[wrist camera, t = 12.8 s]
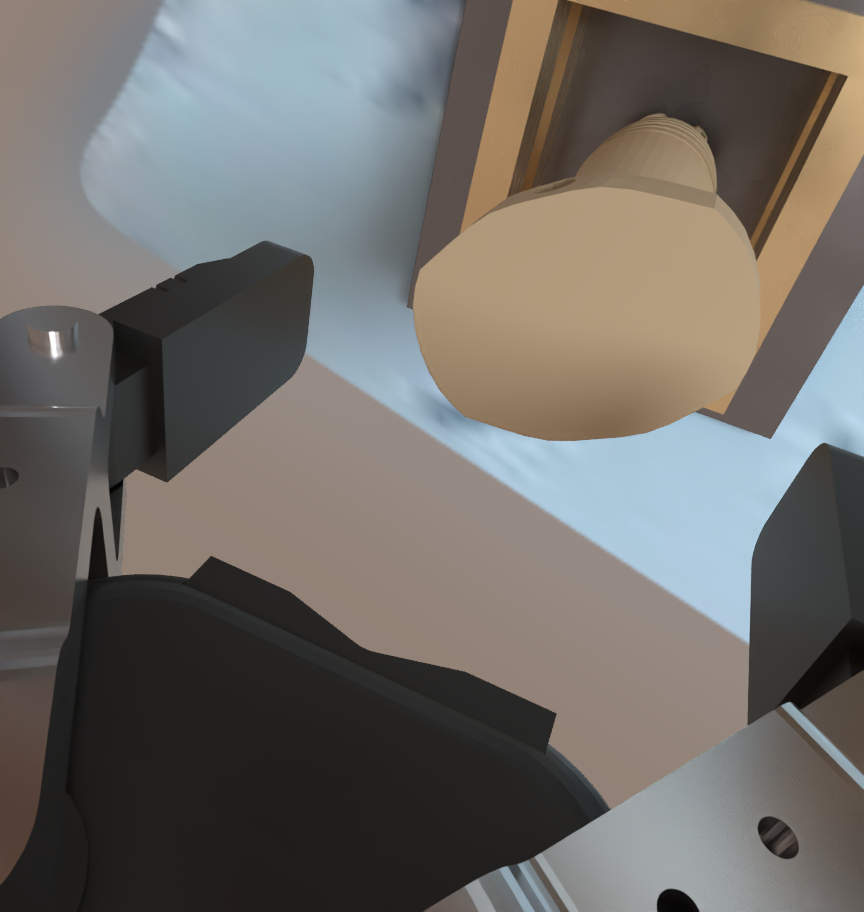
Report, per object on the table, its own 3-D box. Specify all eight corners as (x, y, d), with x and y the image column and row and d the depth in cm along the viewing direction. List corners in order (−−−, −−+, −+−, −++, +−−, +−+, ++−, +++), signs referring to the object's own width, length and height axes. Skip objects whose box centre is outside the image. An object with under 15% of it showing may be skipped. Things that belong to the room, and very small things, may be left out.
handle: (769, 211, 25) (771, 425, 13) (584, 247, 28) (452, 449, 16) (757, 55, 23) (746, 149, 11) (558, 114, 26) (383, 235, 14)
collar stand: (515, -201, 22) (443, -254, 17) (1070, -78, 20) (1179, -98, 14) (415, 299, 32) (351, 358, 27) (770, 426, 30) (772, 518, 25)
